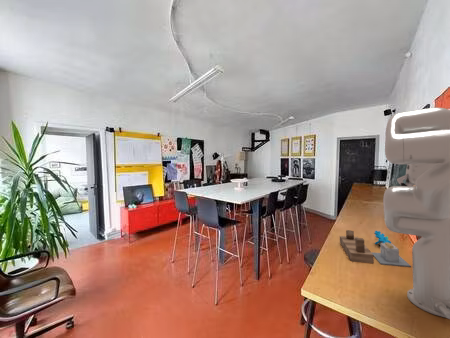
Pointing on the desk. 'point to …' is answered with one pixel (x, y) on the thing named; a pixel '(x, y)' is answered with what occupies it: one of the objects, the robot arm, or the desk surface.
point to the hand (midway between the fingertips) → (422, 198)
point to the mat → (384, 262)
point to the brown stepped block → (356, 248)
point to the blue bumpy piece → (381, 237)
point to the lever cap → (389, 252)
